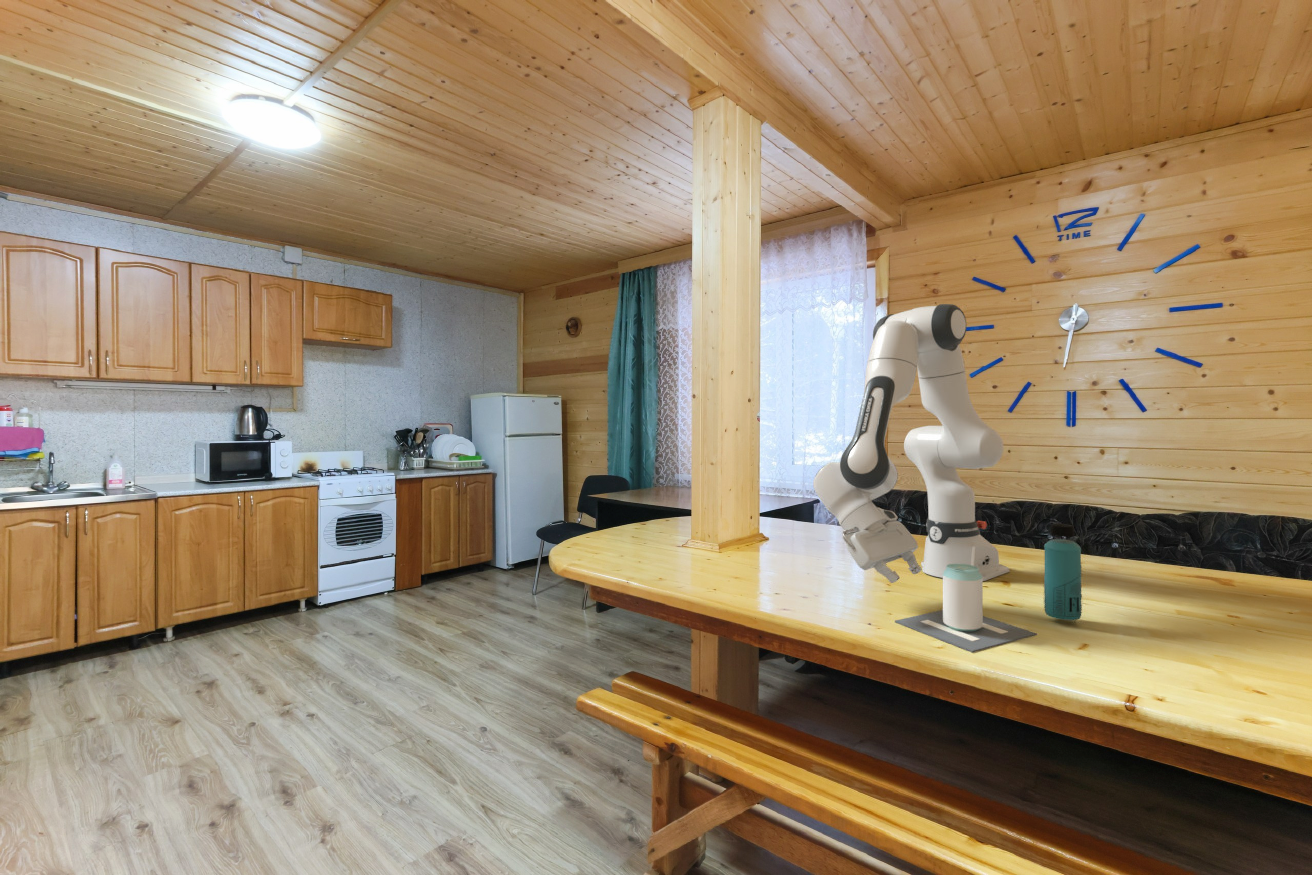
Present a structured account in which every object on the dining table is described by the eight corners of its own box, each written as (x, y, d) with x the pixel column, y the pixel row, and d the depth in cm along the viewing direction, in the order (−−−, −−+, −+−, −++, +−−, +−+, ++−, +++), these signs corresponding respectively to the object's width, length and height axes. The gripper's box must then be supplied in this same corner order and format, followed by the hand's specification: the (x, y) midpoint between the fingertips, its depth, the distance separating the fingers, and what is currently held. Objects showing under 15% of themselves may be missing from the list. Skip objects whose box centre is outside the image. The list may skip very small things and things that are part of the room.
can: (988, 633, 117) (988, 571, 117) (949, 632, 118) (948, 571, 118) (975, 620, 124) (975, 562, 123) (938, 619, 125) (938, 562, 125)
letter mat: (955, 608, 133) (955, 606, 133) (1036, 634, 117) (1036, 632, 117) (894, 621, 126) (894, 620, 126) (972, 652, 109) (972, 650, 109)
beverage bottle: (1070, 630, 119) (1071, 528, 118) (1036, 620, 125) (1036, 523, 124) (1089, 624, 122) (1089, 524, 121) (1054, 614, 128) (1055, 520, 127)
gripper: (847, 522, 128) (891, 577, 121) (897, 510, 142) (939, 559, 135) (830, 540, 132) (871, 594, 125) (880, 527, 145) (920, 575, 138)
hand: (907, 576), depth 130 cm, fingers open, 8 cm apart
